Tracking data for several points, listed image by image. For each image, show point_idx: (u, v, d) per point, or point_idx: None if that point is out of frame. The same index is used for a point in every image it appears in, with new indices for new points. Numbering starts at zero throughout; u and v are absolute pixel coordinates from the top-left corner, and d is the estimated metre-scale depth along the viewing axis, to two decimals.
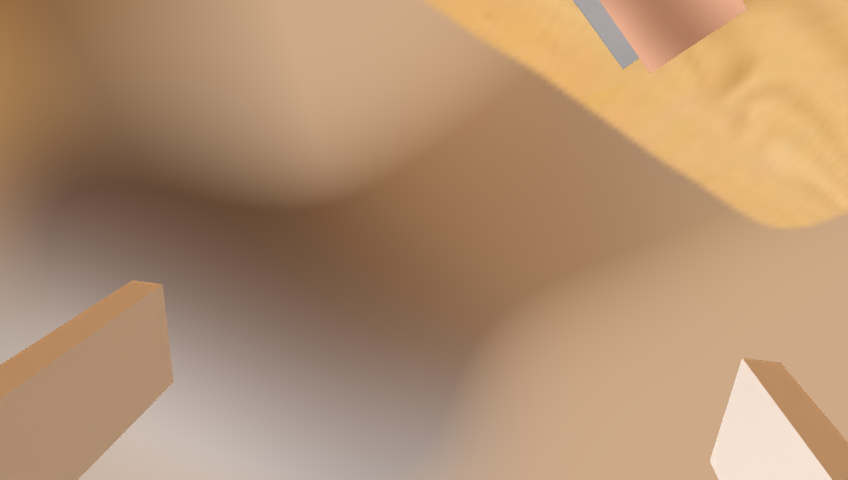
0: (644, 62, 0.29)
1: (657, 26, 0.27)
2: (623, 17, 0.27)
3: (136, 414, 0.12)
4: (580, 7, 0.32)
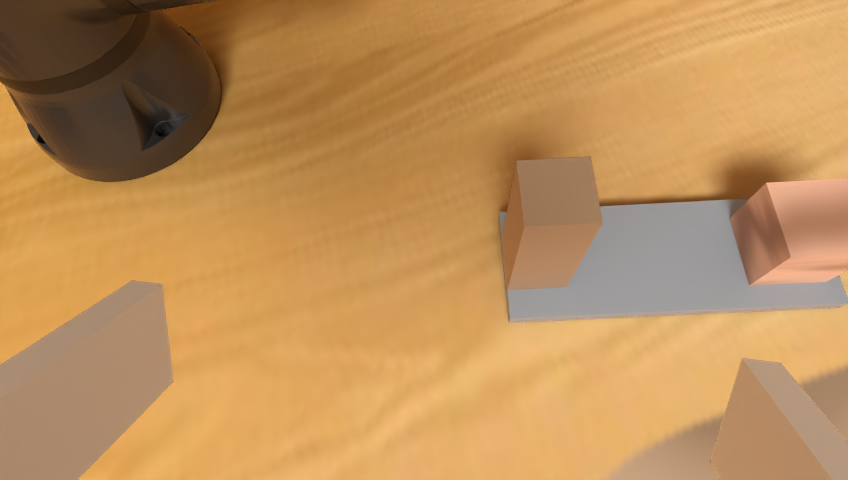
0: None
1: (836, 231, 0.32)
2: (817, 248, 0.32)
3: (137, 414, 0.12)
4: (774, 305, 0.36)
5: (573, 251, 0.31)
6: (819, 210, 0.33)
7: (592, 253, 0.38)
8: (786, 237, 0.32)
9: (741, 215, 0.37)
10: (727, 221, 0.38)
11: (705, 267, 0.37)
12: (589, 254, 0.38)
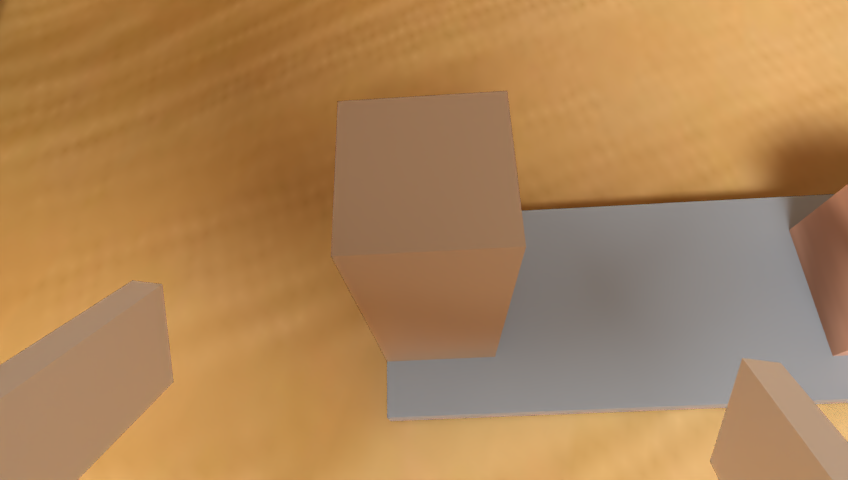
0: None
1: None
2: None
3: (136, 414, 0.12)
4: None
5: (481, 305, 0.15)
6: None
7: (544, 293, 0.21)
8: None
9: (815, 225, 0.20)
10: (785, 235, 0.22)
11: (750, 319, 0.20)
12: (538, 295, 0.21)
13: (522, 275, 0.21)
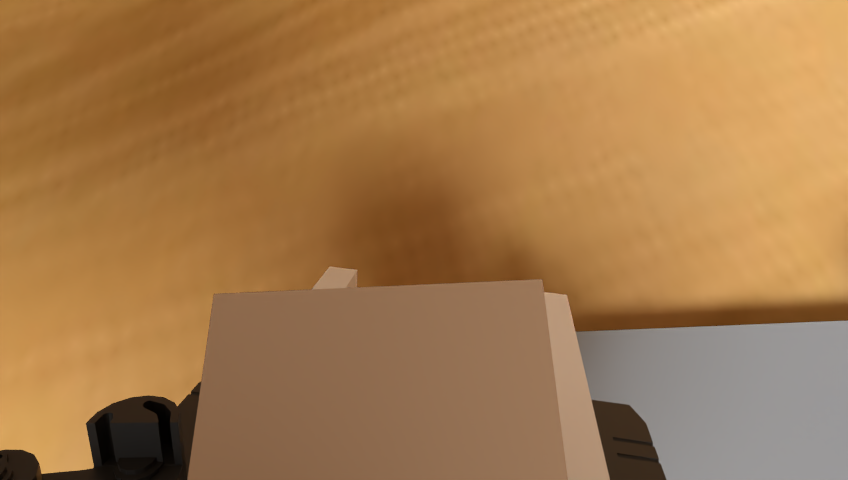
0: None
1: None
2: None
3: None
4: None
5: None
6: None
7: None
8: None
9: None
10: None
11: None
12: None
13: None
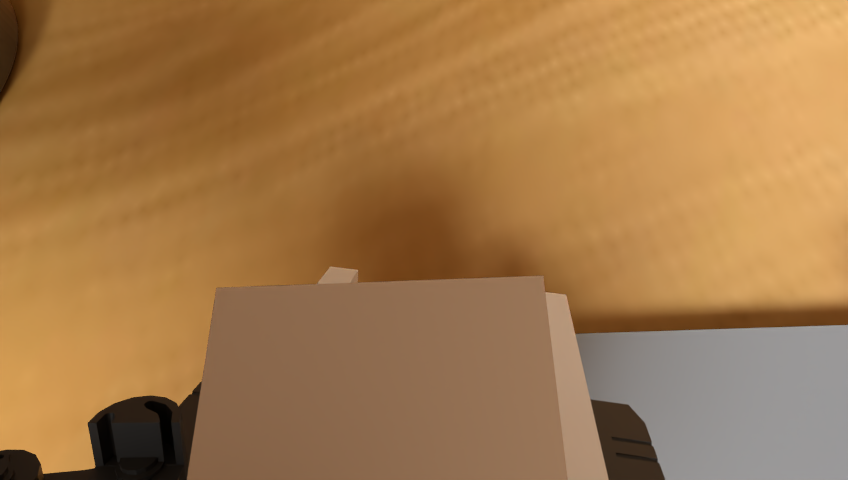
0: None
1: None
2: None
3: None
4: None
5: None
6: None
7: None
8: None
9: None
10: None
11: None
12: None
13: None
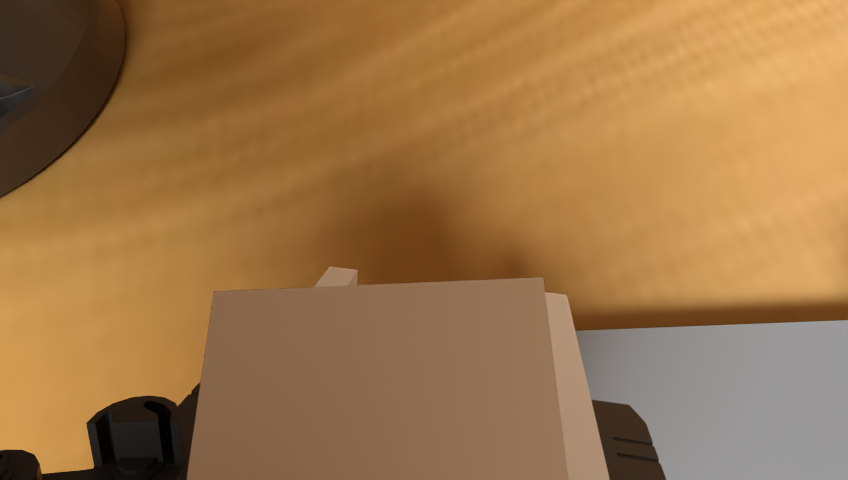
0: None
1: None
2: None
3: None
4: None
5: None
6: None
7: None
8: None
9: None
10: None
11: None
12: None
13: None
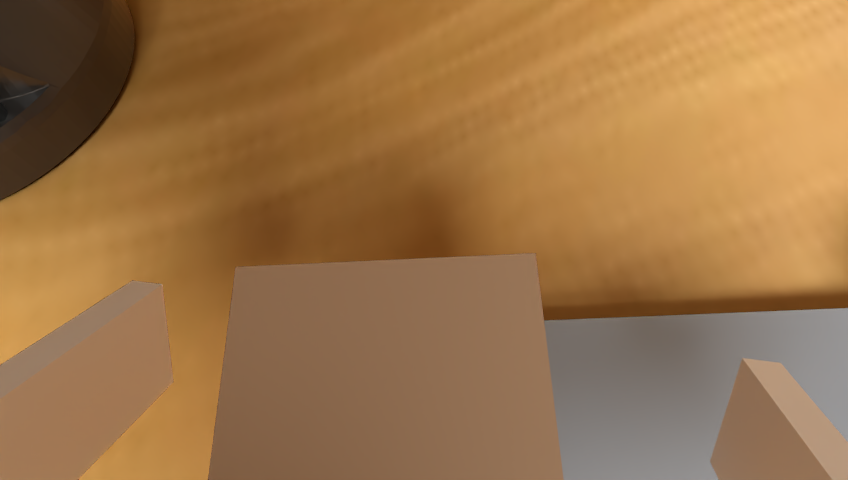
0: None
1: None
2: None
3: (137, 414, 0.12)
4: None
5: None
6: None
7: (571, 444, 0.15)
8: None
9: None
10: None
11: None
12: (563, 446, 0.15)
13: None
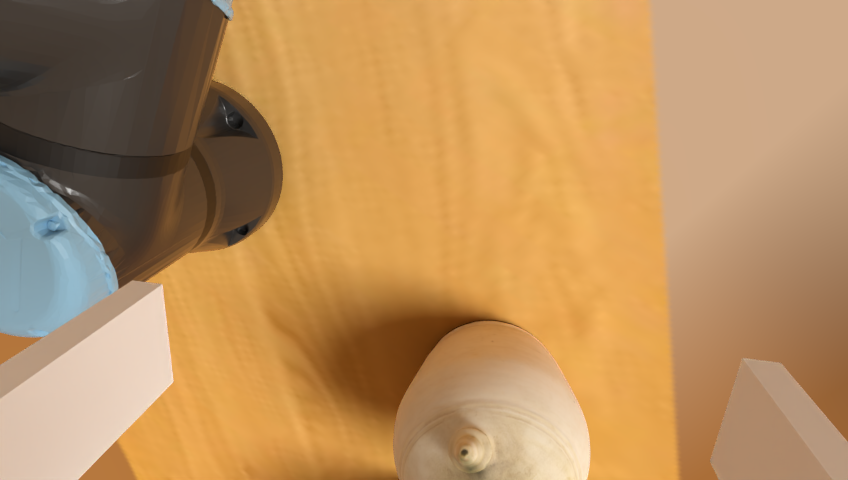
0: None
1: None
2: None
3: (137, 414, 0.12)
4: None
5: None
6: None
7: None
8: None
9: None
10: None
11: None
12: None
13: None
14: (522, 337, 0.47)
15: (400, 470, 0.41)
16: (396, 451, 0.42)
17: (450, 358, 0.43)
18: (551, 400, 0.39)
